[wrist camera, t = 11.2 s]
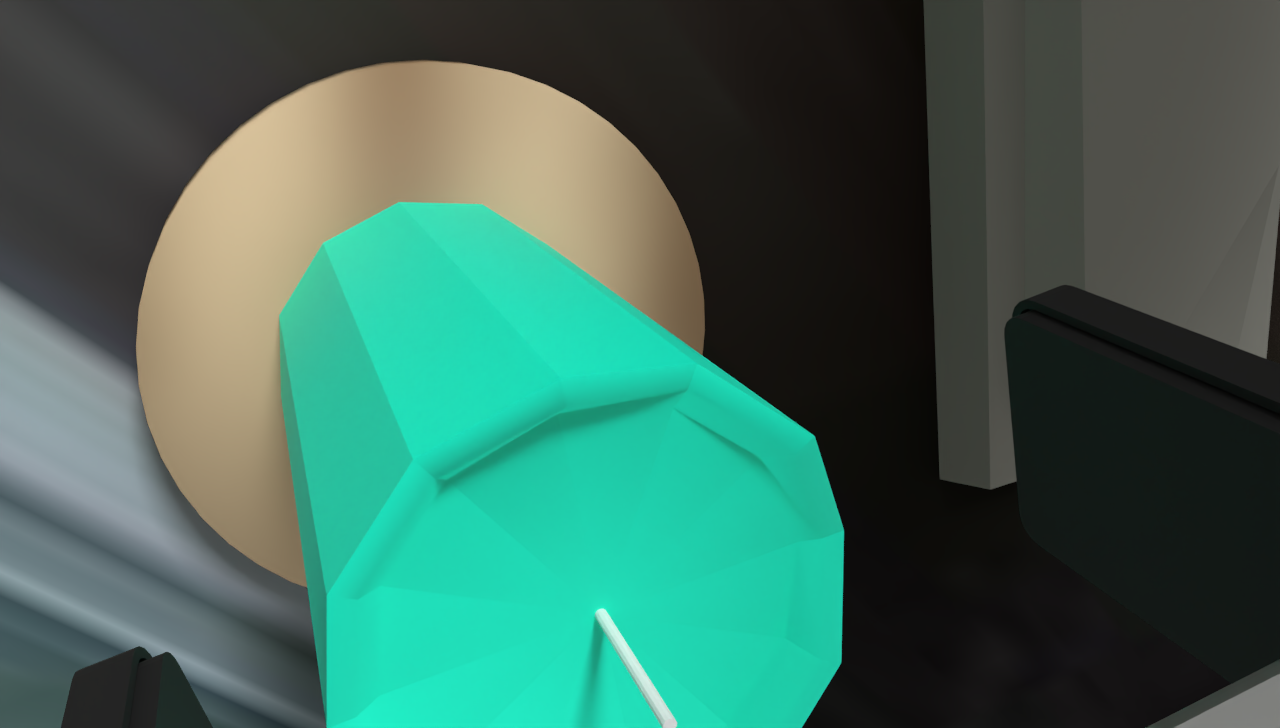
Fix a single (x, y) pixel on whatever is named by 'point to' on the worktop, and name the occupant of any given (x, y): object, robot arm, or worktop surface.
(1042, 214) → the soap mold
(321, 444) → the candle
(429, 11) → the worktop surface
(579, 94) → the worktop surface
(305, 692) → the worktop surface
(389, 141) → the disc
